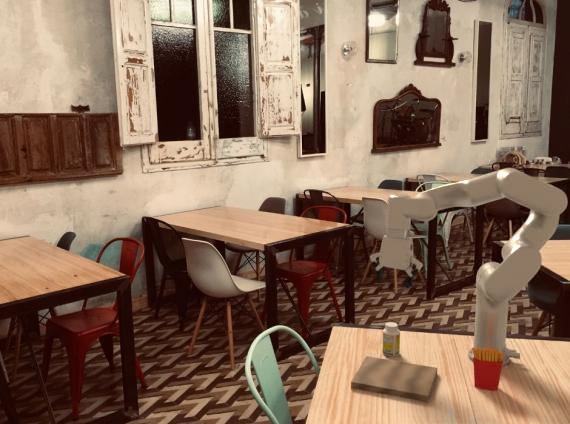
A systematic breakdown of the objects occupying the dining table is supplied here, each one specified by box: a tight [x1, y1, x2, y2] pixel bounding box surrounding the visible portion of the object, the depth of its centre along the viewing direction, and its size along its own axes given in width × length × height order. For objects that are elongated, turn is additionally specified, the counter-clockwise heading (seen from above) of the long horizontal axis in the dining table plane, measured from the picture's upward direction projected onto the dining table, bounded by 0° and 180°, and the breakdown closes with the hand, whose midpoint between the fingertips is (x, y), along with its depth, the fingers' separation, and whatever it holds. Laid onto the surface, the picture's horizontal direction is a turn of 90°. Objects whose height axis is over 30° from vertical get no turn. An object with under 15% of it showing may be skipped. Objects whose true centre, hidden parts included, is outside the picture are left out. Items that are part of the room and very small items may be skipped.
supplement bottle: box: [382, 321, 401, 358], centre depth 183 cm, size 6×6×10 cm
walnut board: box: [350, 355, 438, 404], centre depth 165 cm, size 22×18×2 cm
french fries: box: [471, 347, 503, 392], centre depth 160 cm, size 8×4×12 cm, turn 71°
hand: (393, 284), depth 180 cm, fingers open, 9 cm apart
